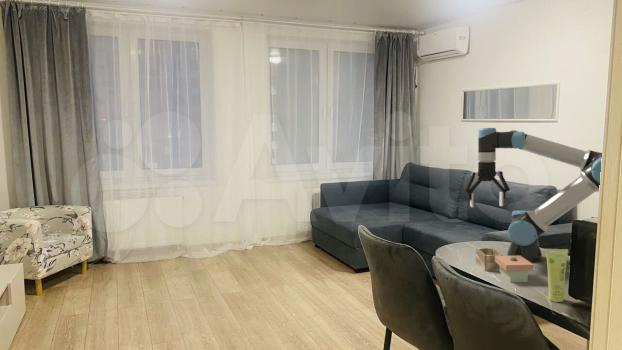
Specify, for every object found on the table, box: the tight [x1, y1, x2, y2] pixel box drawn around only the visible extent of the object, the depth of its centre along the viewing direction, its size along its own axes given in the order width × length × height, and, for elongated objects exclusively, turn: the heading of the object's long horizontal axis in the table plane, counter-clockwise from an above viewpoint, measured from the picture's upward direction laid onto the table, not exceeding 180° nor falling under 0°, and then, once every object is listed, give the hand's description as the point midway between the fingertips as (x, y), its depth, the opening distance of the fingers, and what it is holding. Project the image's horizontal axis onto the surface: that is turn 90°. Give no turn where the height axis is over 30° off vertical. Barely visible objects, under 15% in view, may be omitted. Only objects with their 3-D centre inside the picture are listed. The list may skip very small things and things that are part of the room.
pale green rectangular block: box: [499, 266, 529, 283], centre depth 194 cm, size 7×12×5 cm, turn 178°
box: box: [475, 247, 504, 272], centre depth 209 cm, size 8×12×7 cm, turn 178°
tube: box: [544, 248, 569, 303], centre depth 167 cm, size 6×5×20 cm
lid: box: [495, 255, 534, 272], centre depth 193 cm, size 11×13×4 cm
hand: (486, 206), depth 213 cm, fingers open, 13 cm apart
